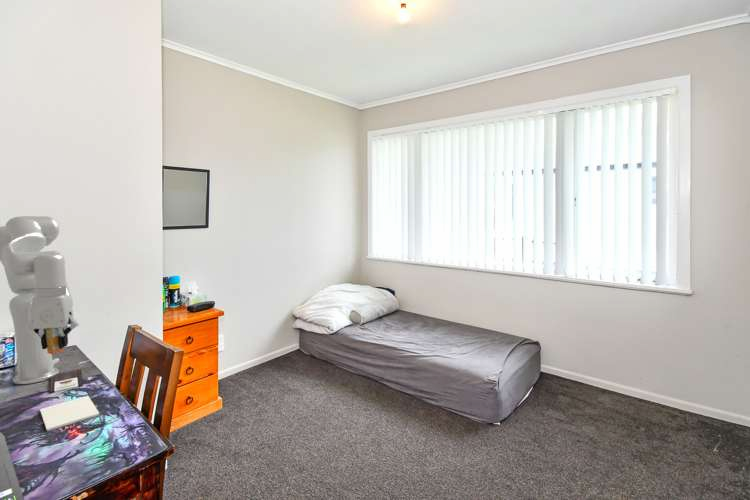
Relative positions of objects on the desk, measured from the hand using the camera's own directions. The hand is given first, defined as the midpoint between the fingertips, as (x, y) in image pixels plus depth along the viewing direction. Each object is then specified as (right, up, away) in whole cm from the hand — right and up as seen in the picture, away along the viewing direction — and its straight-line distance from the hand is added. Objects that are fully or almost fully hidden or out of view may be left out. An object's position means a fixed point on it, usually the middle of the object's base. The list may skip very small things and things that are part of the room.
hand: (55, 346), depth 123 cm
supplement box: (0, -2, 0) cm, 2 cm away
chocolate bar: (-8, -17, +14) cm, 23 cm away
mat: (+11, -18, -8) cm, 23 cm away
